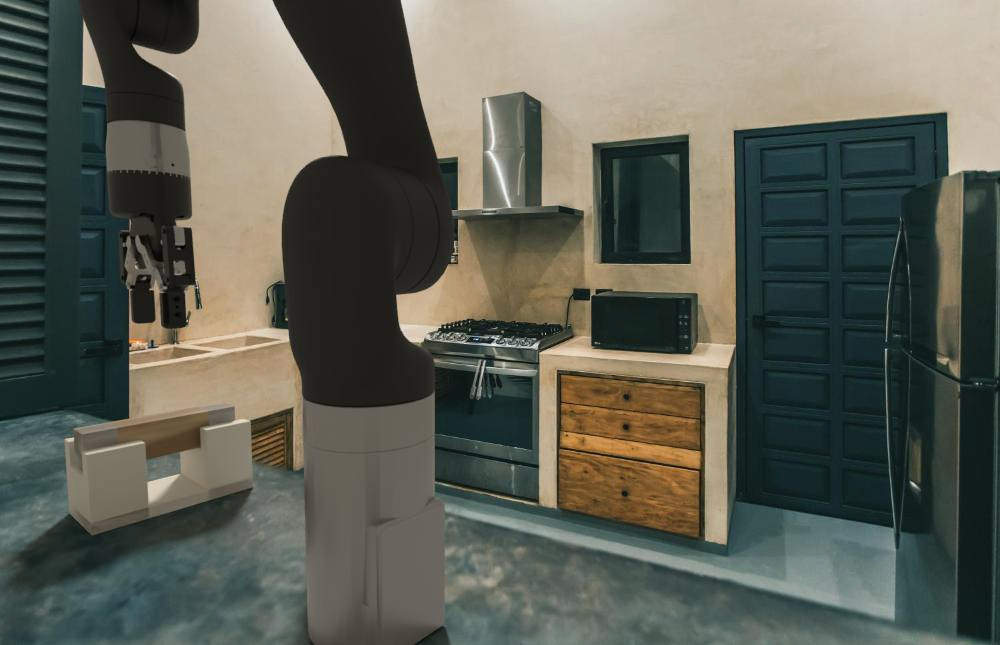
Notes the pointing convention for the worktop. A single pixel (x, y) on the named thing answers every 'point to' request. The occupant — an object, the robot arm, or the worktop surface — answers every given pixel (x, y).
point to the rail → (154, 431)
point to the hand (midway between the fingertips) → (158, 325)
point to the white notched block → (130, 498)
